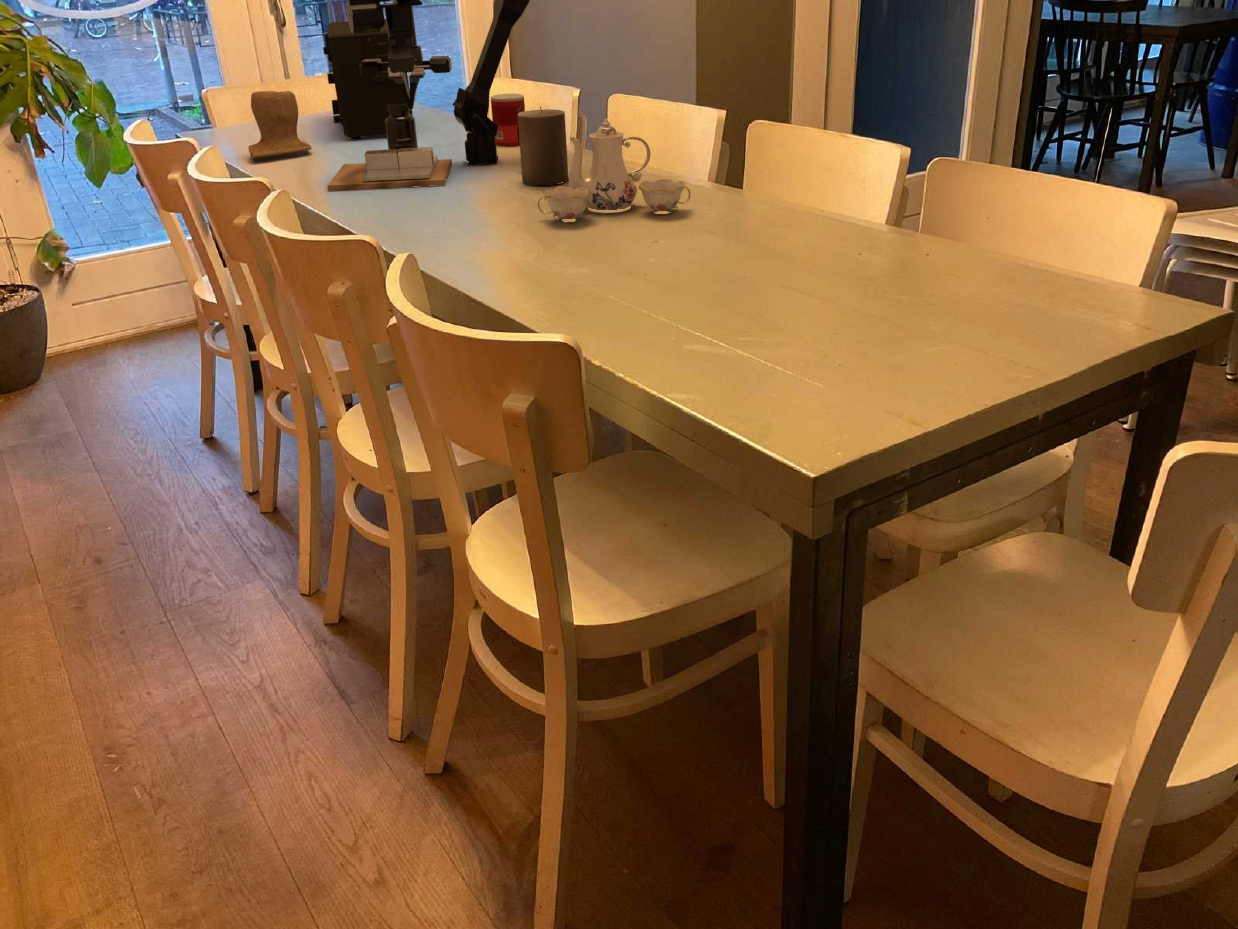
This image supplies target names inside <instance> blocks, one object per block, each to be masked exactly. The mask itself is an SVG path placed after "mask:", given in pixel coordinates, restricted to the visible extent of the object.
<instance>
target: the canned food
mask: <svg viewBox="0 0 1238 929" xmlns="http://www.w3.org/2000/svg"><path fill="white" fill-rule="evenodd" d="M525 105H526V104H525V96H524V95H523V94H521V93H500V94H499V93H498V94H494V95H492V96H490V106H491V116H492V118H491V120H492V121H493V122H494V123H495V124H496V125H497V126H498V130H497V134H496V146H497V147H498V146H499V147H518V146H519V147H520V140H519V125H518V113H519V112H524V111H526V106H525Z"/></svg>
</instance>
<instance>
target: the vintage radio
mask: <svg viewBox="0 0 1238 929" xmlns="http://www.w3.org/2000/svg"><path fill="white" fill-rule="evenodd" d="M384 19H385V25H384V26H383V27H381V28H380V32H371V33H358V34H352V33H351V31H350V27H349V23H348V20H347V21H334V22H333V21H331V22H330V23H329V24H328V25H326V30H327V33H324V37H325V38H324V39H325V40H324V41H325V45H326V46H324V47H322V48H323V49H322V50H323V55H324V56H325V55H326V56H327V57H328V61H329V63H331V67H332V69H331V70H332V72H331V73H329V72H328V73H326V74H327V83H328V85H334V88H335V94H336V99H332V100H331V107H332V108H331V109H332V117H333V123H334V124H340V125H341V126H342V130H343V135H344V136H345V137H347V138H349V139H350V140H354V141H355V140H361V139H362V137H375V136H387V134H386V126H385V119H386V117H387V116H388V115H389V112H388V105H387V104H388V103H391V102H406V101H405V99H404V97H403V94H402V92H401V90H400V88H399V87H398V85H397V84H396V82H395V81H394V80H393V79H389V78H388V77H389V73H388V71H384V72H378V73H377V74H376V75H375V76H360V70H359V64H360V63H361V62H362V61H363V60H364V59H381V62H389V61H388V49H389V39H388V31H387V24H386V18H384ZM402 73H405V75H406V80H407V85H408V89H409V94H410V82H409V75H408V73H407V72H402ZM409 114H411V115H412V116H413V114H414V113H413V109H410V111H409ZM413 117H414V116H413Z"/></svg>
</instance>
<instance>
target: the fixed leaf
mask: <svg viewBox="0 0 1238 929" xmlns="http://www.w3.org/2000/svg"><path fill="white" fill-rule="evenodd" d="M433 150H434V149H433V146H427V147H424V146H423V147H418V148H403V149H399V150H398V160H399V167H400V169H403V168H424V167H433V171H434V168H435V166H436V164H437V161H438V160H439V159H438V156H437V155H434V151H433Z"/></svg>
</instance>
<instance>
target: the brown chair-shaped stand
mask: <svg viewBox="0 0 1238 929" xmlns="http://www.w3.org/2000/svg"><path fill="white" fill-rule="evenodd" d="M296 98H297V97H296V94H294V92H292V91H290V90H285V91H275V90H262V91H261V90H260V91H259V90H257V91H254V92H251V95H250V107H251V111H252V114H253V117H254V119H255V122H256V125H257V127H258V130H259V132H260V139H259V141H258V142H256V143H255V144H254V143H253V144H249V145H248V146H247V147H248V152H249V154H250V158H251V160H252V161H260V160H268V159H277V158H283V157H284V158H285V157H288V156H292V155H297V154H300V153H301V154H302V153H305V152H308V151H310V150H312V149H313V148H312V146H311V145H310V144H309V143H306V142H304V141H302V140H301V139H300V138H299V137H298V129H297V128H298V123H299V122H298V121H299V106H298V102H297V99H296Z"/></svg>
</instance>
